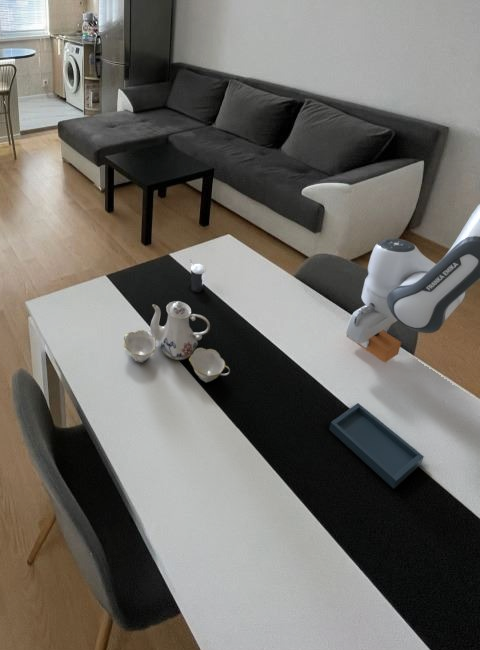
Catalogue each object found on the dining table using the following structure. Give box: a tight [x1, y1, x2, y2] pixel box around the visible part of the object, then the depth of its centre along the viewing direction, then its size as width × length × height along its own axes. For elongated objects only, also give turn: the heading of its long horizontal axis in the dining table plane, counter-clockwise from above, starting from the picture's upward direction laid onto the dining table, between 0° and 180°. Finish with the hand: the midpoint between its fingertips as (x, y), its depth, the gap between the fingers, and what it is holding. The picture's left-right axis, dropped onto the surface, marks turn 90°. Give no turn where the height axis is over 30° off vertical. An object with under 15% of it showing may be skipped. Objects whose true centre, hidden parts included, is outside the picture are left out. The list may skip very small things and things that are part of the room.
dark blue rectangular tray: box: [328, 402, 425, 490], centre depth 91 cm, size 14×10×2 cm
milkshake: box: [189, 259, 206, 293], centre depth 138 cm, size 4×5×10 cm
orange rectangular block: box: [345, 330, 402, 364], centre depth 111 cm, size 10×6×5 cm, turn 27°
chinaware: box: [123, 300, 231, 383], centre depth 113 cm, size 28×17×17 cm, turn 73°
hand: (372, 339), depth 111 cm, fingers closed on orange rectangular block, 5 cm apart
